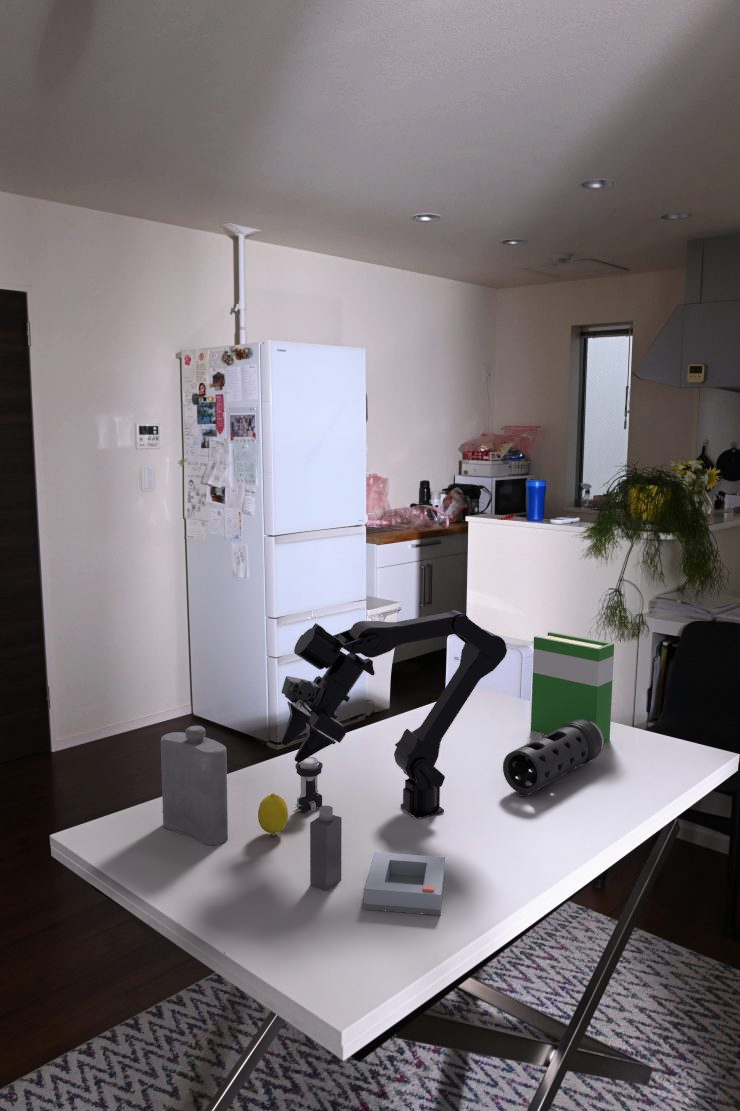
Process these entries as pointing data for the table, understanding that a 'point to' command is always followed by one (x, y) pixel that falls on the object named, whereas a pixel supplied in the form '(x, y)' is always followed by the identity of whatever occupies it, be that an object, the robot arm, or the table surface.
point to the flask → (195, 785)
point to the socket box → (405, 883)
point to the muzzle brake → (552, 756)
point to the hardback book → (571, 682)
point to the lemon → (273, 814)
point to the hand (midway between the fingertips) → (289, 752)
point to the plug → (325, 849)
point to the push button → (308, 785)
